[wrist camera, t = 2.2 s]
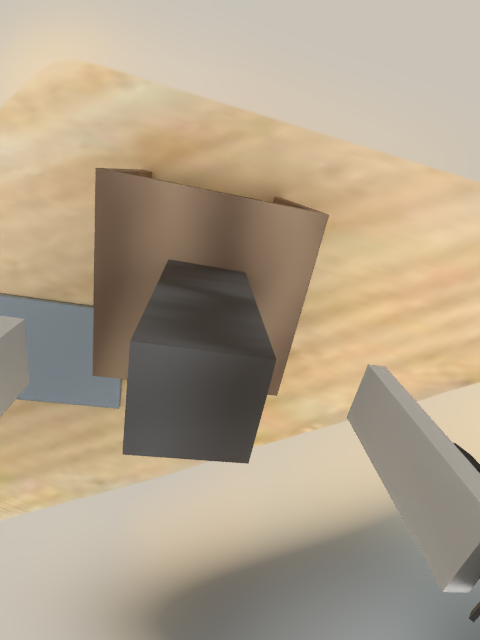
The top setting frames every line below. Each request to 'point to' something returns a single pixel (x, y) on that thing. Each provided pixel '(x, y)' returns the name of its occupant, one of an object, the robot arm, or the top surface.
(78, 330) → the mat
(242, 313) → the brown legged piece
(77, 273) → the top surface
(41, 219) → the top surface
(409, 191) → the top surface
